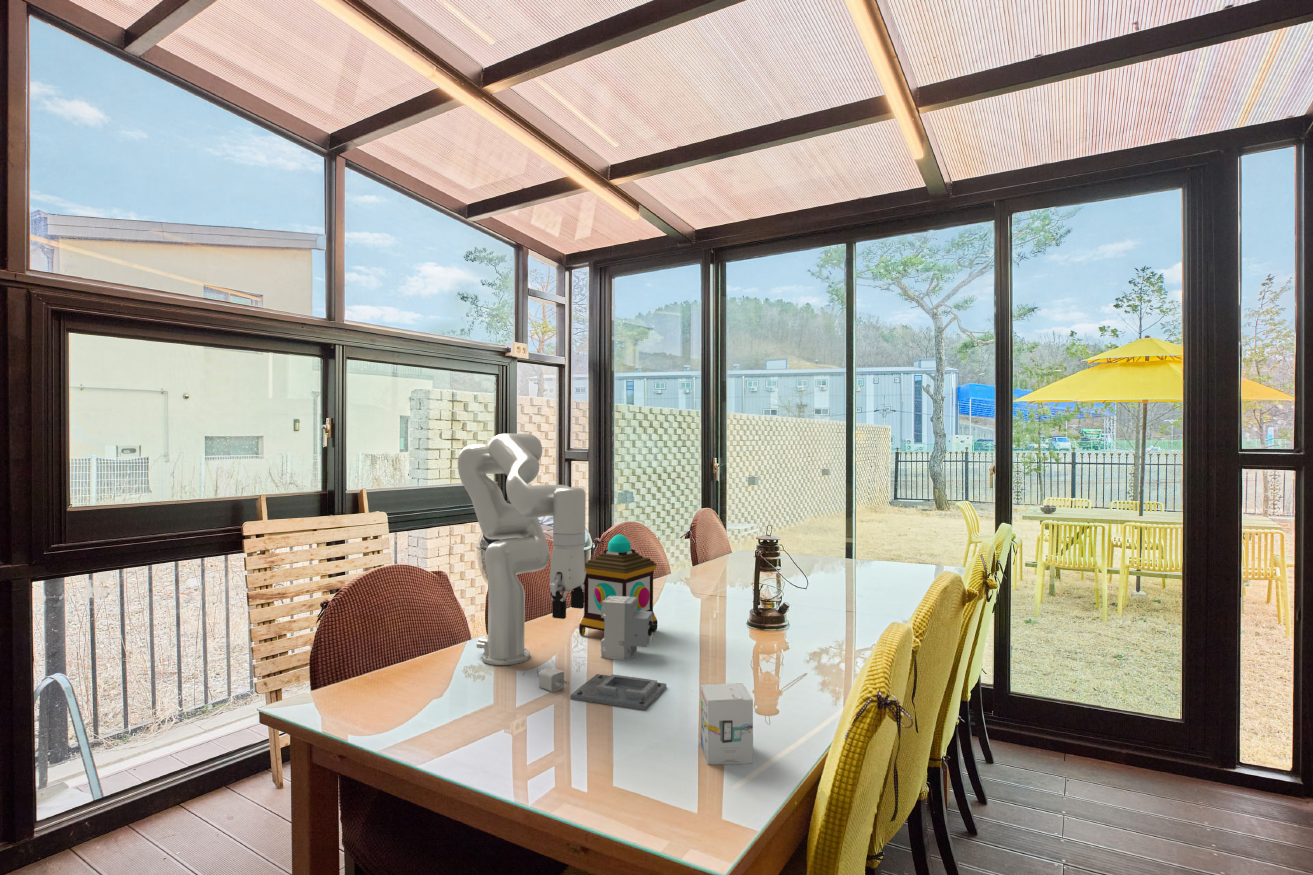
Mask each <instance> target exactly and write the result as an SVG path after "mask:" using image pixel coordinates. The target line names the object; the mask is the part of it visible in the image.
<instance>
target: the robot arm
mask: <svg viewBox="0 0 1313 875" xmlns="http://www.w3.org/2000/svg"><path fill="white" fill-rule="evenodd" d="M542 455H543V446H542V443H541V441H540V439H539V438H538V437H537V436H535V435H534V434H532V433H507V432H506V433H499V434H497V435H495V436H493V437H492V438H491V439H490V441H489V443H476V444H470V445H467V446H465V447H463V449H461V450H460V452H459V454H458V458H457V469H458V470H457V471H458V476H459V479H460V481H461V483H462V485H463V487H464V488H465V490H466V492H467V493H468V496H469V498H470V500H471V503H472V506H473V509H474V512H475V515H476V518H477V522H478V524H479V528H480V531H481V533H482V534H483V536H484V538H486V539H487V540H495V541H492V542H491V543H490V544H489V545H488V546H486V549H485V552H484V564H485V568H486V573H487V574H486V575H487V576H486V577H487V584H488V585H487V586H488V587H487V588H488V590H487V591H488V596H487V597H488V598H487V599H488V600H487V601H488V602H487V603H488V605H487V606H488V607H487V608H488V609H487V610H488V612H487V614H488V616H487V622H488V623H487V639H486V638H479V639H477V640H478V641H477V644H476V648H477V649H483V651H484V652H483V653H482V654H481V660H482V661H483V662H484V663H485V664H488V665H493V666H508V665H509V666H510V665H511V666H512V665H517V664H520V663H523V662H525V661H528V660H529V659H530V657H531V651H530V650H529V649H528V648H525V625H526V624H525V610H526V608H525V607H526V604H525V603H526V602H525V600H526V598H525V597H526V594H525V587H524V586H523V584H522V582H521V581H520V580H519V578H518V576H517V575H521V574H526V573H533V572H538V571H541V570H544V569H546V567H547V566H548V565H549V561H550V572H549V590H550V593H549V594H550V597H551V602H552V604H551V605H552V609H551V612H552V614H551V615H552V618H553V619H559V620H563V619H564V620H565V619H566V618H567V600H565V599H566V596H567V594H568V592H570V608H572V609H581V610H582V609H584V590H585V587H584V584H585V581H586V580H585V577H586V570H585V563H586V561H585V560H586V559H585V558H586V557H585V547H586V505H587V504H586V500H587V499H586V497H587V496H586V491H585V490H584V489H583V488H582V487H575V486H573V487H572V486H571V487H570V486H568V485H565V484H552V485H551V484H541V485H539V484H538V485H530V483H531V482H533V481H534V480H535V479H536V477H537V476H538V474H539V471H540V462H539V461H540V460H541V458H542ZM494 474H495V475H496V474H497V475H499V474H505V476H507V478H506V480H505V481H506V482H505V491H506V492H505V493H506V495H507V499H508V501H509V503H508V502H506V500H505V498H504V495H503V491H502V489H501V488H500V487H499V485H498V484H497V483H496V482H495V481H494V480H493V479H491V478H490V477H488V476H487V475H494ZM539 517H540V518H541V517H552V520H553V522H552V525H553V526H552V528H553V532H552V553H551V558H550V548H549V544H548V542H547V539H546V536H545V534H544V531H543V528H542V525H541V523H540V520H539Z"/></svg>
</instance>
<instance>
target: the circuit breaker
mask: <svg viewBox="0 0 1313 875" xmlns="http://www.w3.org/2000/svg"><path fill="white" fill-rule="evenodd" d="M653 612H654V611H653ZM653 612H650V611H637V597H625V596H609V597H608V598H606V599H605V600H604V601H603V602H602V608H601V618H604V631H603V632H604V633H603V638H602V639H601V640H600V658H601V659H604V658H605V659H610V660H622V661H624V660H625V661H631V659H632V658H633V657H634V656H635V654H636V653H637V651H638V648H639V647H640V648H647V647H648V646H649V644H650V643H651V642H652V640H653V634H654V633H655V632H657V630H658V624H657V625H653ZM603 613H604V614H603Z"/></svg>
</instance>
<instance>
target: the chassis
mask: <svg viewBox="0 0 1313 875" xmlns="http://www.w3.org/2000/svg"><path fill="white" fill-rule="evenodd" d="M666 689H667V683H665V682H658V679H656V680H655V679H650V678H643V677H636V676H635V677H634V676H627V675H619V674H611V675H607V674H606V675H605V674H601V673H599V674H597V673H596V674H595V675H593V676H592V677H591V678H590V679H588V681H586V682H585V683H583V684H582V685H581V686H580V687H578V688H577V689H576V690H574V691H573V692H572V693H570V699H571V700H576V701H582V702H587V703H588V702H589V703H596V704H600V705H602V704H603V705H608V706H613V707H621V708H628V709H634V710H635V709H636V710H641V711H646V710H647V709H648V708H650V707H651V705H652V704H653V703H654V702H655V701H656V700H657V698H659V697H660V695H661V694H662V693H663V692H664V691H665V690H666Z"/></svg>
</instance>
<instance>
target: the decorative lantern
mask: <svg viewBox="0 0 1313 875" xmlns="http://www.w3.org/2000/svg"><path fill="white" fill-rule="evenodd" d="M657 565H658V564H657V563H656V562H655V561H654V560H651V558H650V557H644V556H643V555H640V553H639V552H636V549H633V548H631V541H630V540H629V539H628V538H627V537H626V536H625V535H623V534H616V535H614V536H613V537H612V538H611V539H610V540H609V542H608V544H607V549H604V550H603V553H599V555H598V556H596V557H595V558H591V559H588V560H587V562H585V570H586V577H585V580H586V581H585V584H584V587H585V590H584V591H583V592H584V608H583V617H582V618H581V620H580V622H579V626H578V631H579V636H584V635H585V634H586V628H587V629H590V630H591V629H592V630H596V631H601V632H604V618H601V608H602V602H603V601H604V600H605V599H606V598H608V597H609V596H625V597H637V611H650V612H653V625H657V626H658V619H657V617H656V615H655V612H654V572H655V570H656V568H657ZM603 614H604V613H603Z"/></svg>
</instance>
